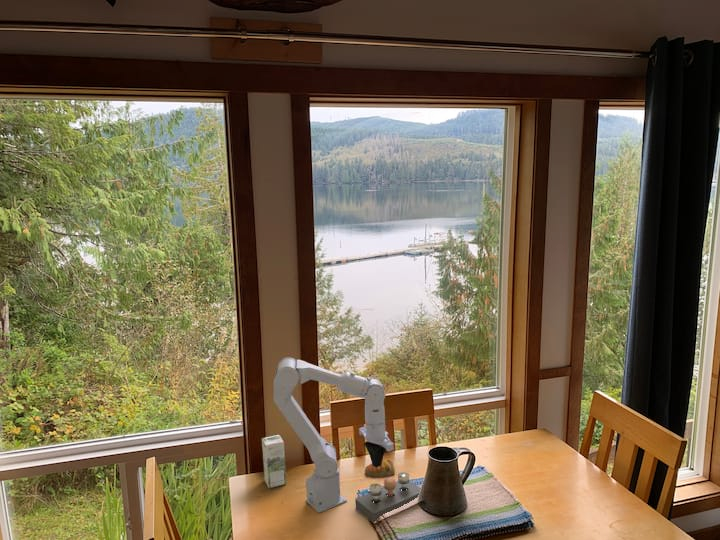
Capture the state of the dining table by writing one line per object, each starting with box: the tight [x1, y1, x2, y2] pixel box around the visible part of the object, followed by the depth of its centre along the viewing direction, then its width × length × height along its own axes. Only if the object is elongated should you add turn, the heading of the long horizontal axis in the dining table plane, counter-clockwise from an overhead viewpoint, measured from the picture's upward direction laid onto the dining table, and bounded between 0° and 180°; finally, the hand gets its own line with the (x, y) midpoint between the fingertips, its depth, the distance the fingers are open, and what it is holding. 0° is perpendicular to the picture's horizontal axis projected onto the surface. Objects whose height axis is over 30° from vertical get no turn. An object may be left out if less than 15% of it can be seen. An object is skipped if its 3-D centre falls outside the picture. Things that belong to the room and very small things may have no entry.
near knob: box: [369, 483, 382, 504], centre depth 149 cm, size 3×3×5 cm
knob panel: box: [354, 480, 422, 523], centre depth 152 cm, size 18×9×3 cm, turn 124°
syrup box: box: [261, 434, 287, 490], centre depth 166 cm, size 6×6×14 cm
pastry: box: [364, 458, 396, 478], centre depth 170 cm, size 9×7×4 cm
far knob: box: [397, 471, 410, 492], centre depth 154 cm, size 3×3×5 cm
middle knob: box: [383, 477, 396, 498], centre depth 151 cm, size 3×3×5 cm
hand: (377, 465), depth 156 cm, fingers closed
